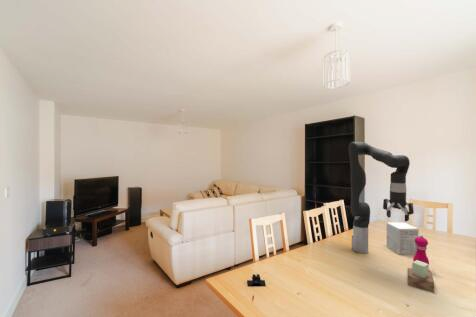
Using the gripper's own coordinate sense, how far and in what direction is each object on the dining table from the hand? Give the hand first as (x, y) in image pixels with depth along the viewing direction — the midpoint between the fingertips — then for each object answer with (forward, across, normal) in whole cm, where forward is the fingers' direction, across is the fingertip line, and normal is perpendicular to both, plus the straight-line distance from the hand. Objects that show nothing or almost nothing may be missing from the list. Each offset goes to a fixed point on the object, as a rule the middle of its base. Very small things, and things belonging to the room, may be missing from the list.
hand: (397, 219), depth 126 cm
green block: (+25, +12, -3) cm, 28 cm away
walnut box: (+30, +12, -3) cm, 33 cm away
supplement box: (+30, -11, +33) cm, 46 cm away
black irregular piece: (+31, -34, -74) cm, 87 cm away
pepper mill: (+30, +6, +15) cm, 34 cm away
